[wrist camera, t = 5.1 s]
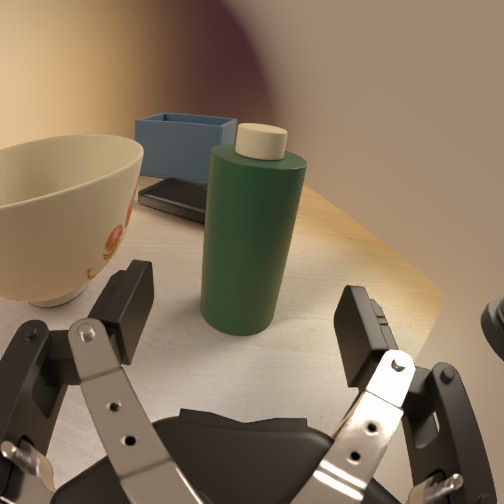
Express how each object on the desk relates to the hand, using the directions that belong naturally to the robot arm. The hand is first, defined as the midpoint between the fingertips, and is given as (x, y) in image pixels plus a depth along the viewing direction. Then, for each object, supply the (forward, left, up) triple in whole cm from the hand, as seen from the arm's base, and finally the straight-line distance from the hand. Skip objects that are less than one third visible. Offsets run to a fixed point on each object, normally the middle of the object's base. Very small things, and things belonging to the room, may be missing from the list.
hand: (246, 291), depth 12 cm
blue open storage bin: (+15, -36, -7) cm, 39 cm away
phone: (+8, -23, -7) cm, 25 cm away
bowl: (+16, -4, -7) cm, 18 cm away
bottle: (+1, -7, -7) cm, 10 cm away
